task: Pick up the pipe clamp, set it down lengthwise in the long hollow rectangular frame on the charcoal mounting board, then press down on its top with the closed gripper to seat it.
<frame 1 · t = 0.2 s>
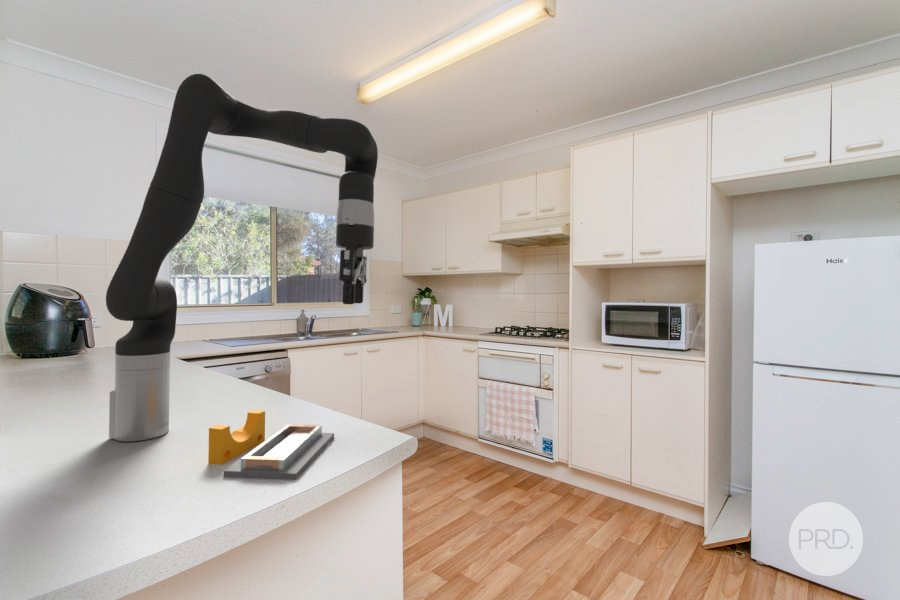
hand: (353, 303, 85), 29 cm above the counter, fingers open, 8 cm apart
mounting board: (285, 454, 77), on the counter
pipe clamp: (234, 453, 79), on the counter
long hollow rectangular frame: (286, 444, 77), on the mounting board, point 1 cm above the counter
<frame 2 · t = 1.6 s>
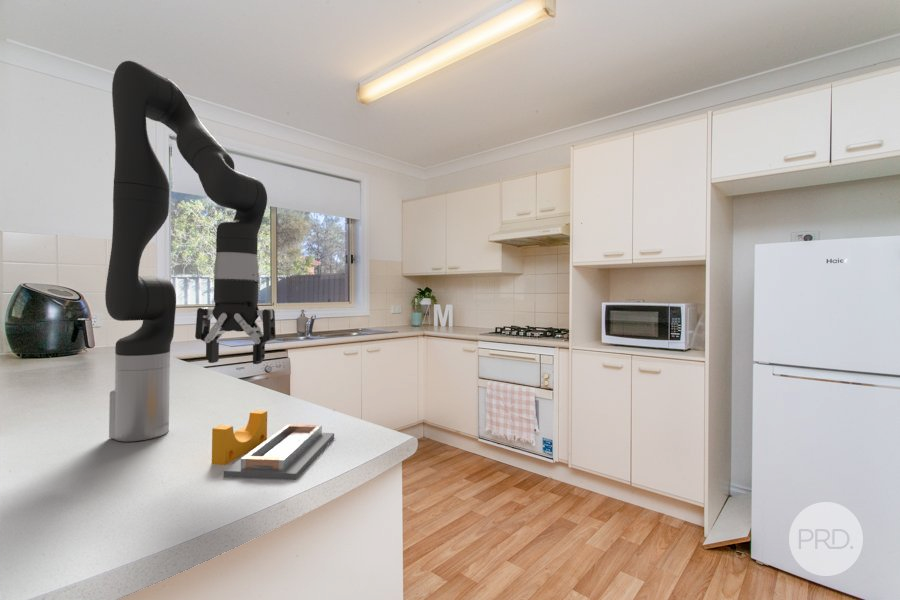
hand: (235, 362, 79), 17 cm above the counter, fingers open, 8 cm apart
nothing on the counter moved.
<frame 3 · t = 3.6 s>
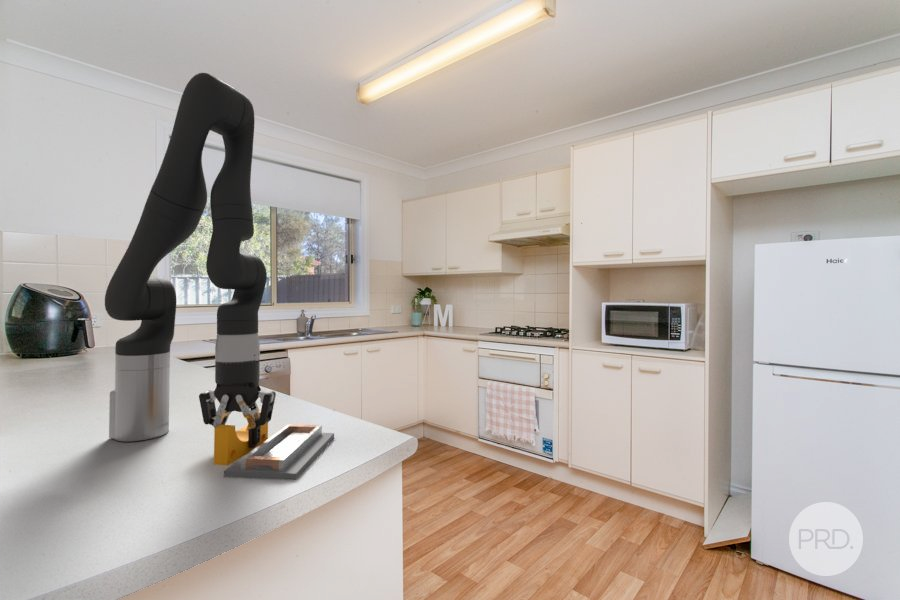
hand: (237, 445, 78), 1 cm above the counter, fingers open, 5 cm apart
nothing on the counter moved.
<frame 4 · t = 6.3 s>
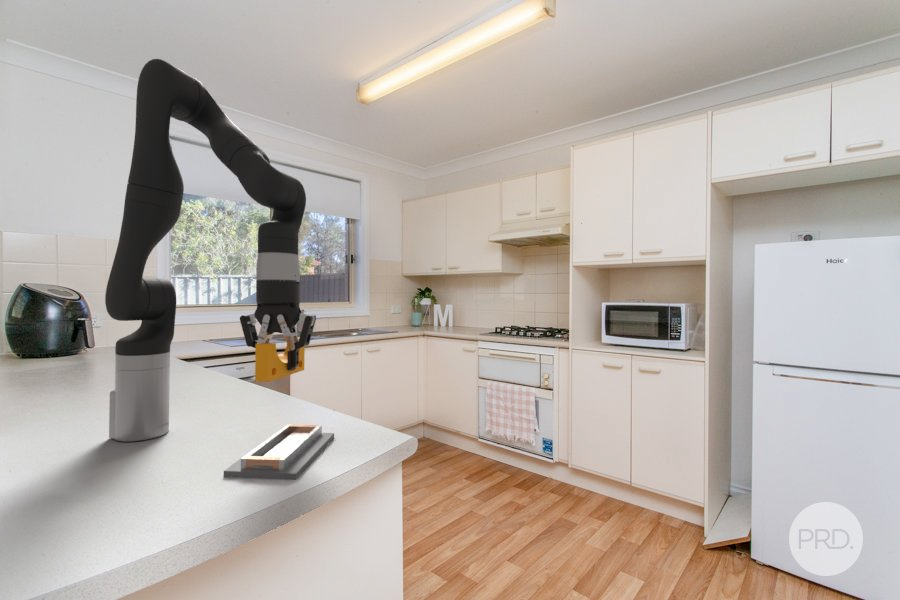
hand: (278, 369, 77), 16 cm above the counter, fingers closed on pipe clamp, 4 cm apart
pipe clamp: (277, 376, 77), point 15 cm above the counter, touching gripper
when the fingers open (4 cm above the counter, at t = 9.0 s): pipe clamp drops 1 cm, resting on long hollow rectangular frame.
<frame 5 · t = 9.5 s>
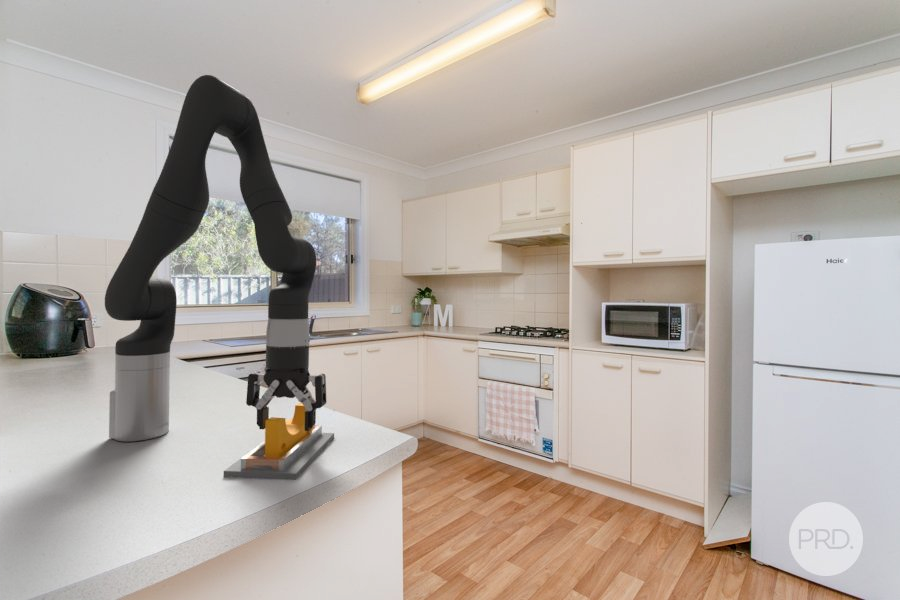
hand: (286, 428, 77), 5 cm above the counter, fingers open, 8 cm apart
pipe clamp: (285, 446, 77), point 2 cm above the counter, touching long hollow rectangular frame
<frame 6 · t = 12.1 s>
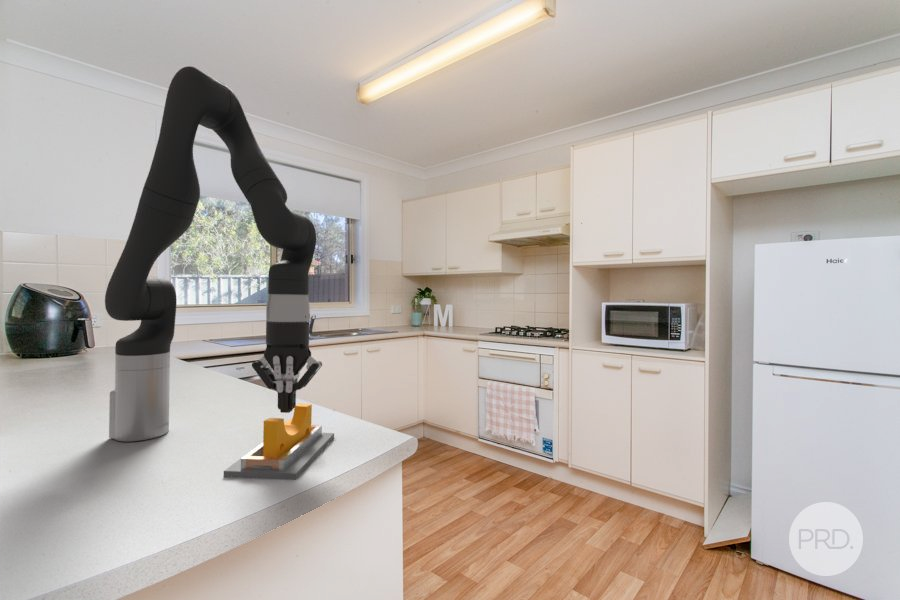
hand: (286, 411, 77), 8 cm above the counter, fingers closed
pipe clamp: (284, 447, 77), point 2 cm above the counter, touching long hollow rectangular frame, gripper
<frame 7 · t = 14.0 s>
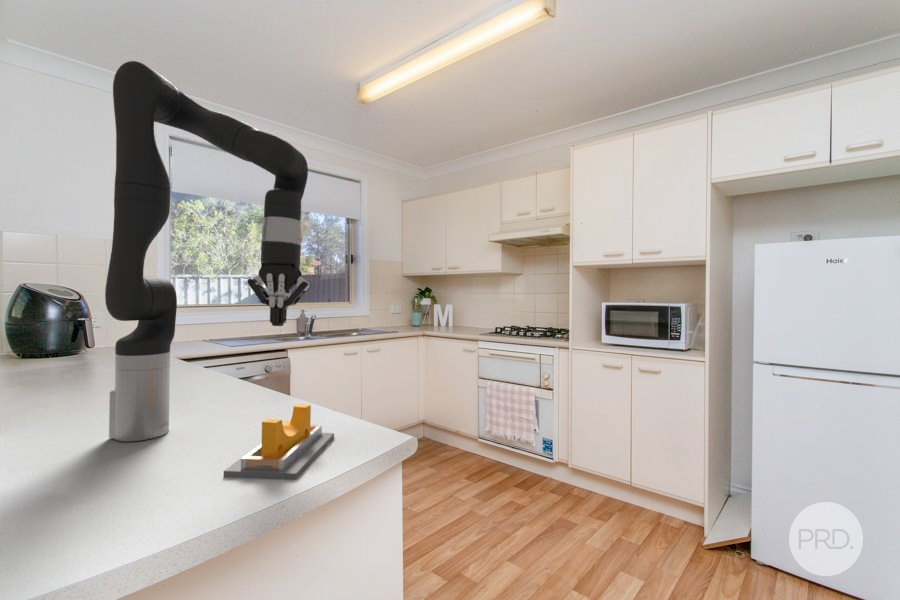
hand: (278, 325, 85), 24 cm above the counter, fingers closed
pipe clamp: (283, 448, 76), point 2 cm above the counter, touching long hollow rectangular frame
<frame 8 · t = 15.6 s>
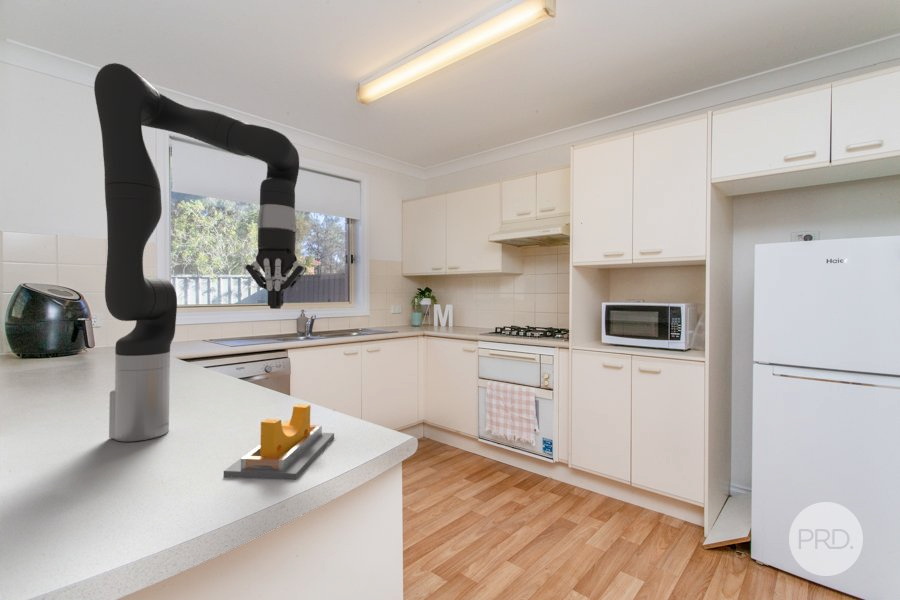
hand: (275, 308, 89), 27 cm above the counter, fingers closed
nothing on the counter moved.
at the end: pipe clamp inside the target area on the long hollow rectangular frame (1.0 cm from its centre), point 1.6 cm above the long hollow rectangular frame's base; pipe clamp tilted 0°; the gripper is holding nothing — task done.
